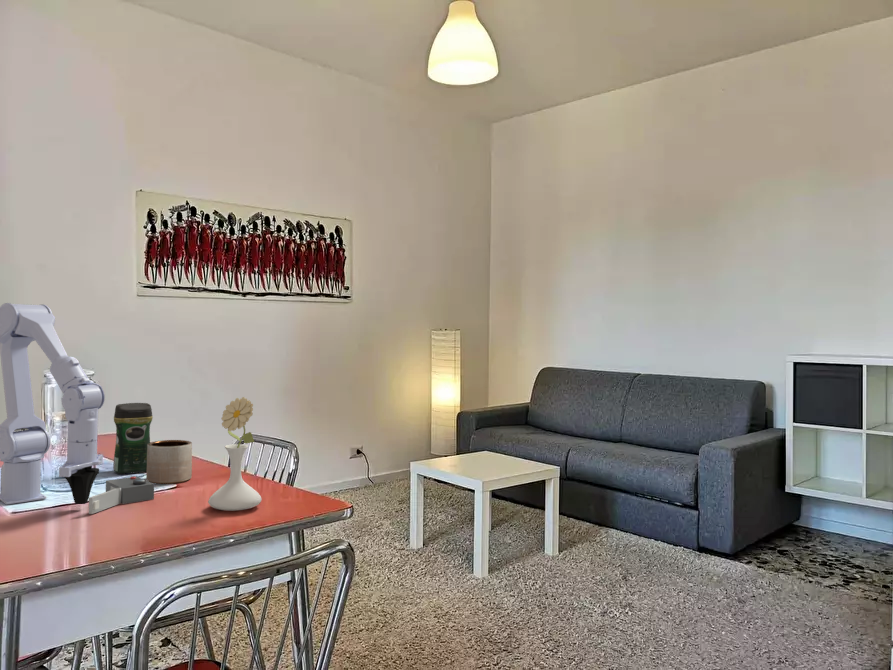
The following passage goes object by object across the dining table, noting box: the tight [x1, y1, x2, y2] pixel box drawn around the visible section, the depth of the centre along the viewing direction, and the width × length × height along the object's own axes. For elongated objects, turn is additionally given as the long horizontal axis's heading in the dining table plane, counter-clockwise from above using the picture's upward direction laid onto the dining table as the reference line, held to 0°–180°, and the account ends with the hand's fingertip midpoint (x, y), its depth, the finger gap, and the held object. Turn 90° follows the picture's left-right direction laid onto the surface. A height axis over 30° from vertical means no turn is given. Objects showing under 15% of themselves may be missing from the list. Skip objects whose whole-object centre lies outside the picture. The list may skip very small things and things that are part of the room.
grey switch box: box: [105, 476, 155, 505], centre depth 160 cm, size 10×7×4 cm
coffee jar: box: [112, 402, 154, 475], centre depth 187 cm, size 10×8×19 cm
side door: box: [88, 488, 121, 515], centre depth 149 cm, size 10×1×3 cm, turn 169°
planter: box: [146, 439, 193, 485], centre depth 178 cm, size 11×11×10 cm
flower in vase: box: [207, 396, 263, 512], centre depth 152 cm, size 13×11×25 cm
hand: (81, 503), depth 149 cm, fingers closed
